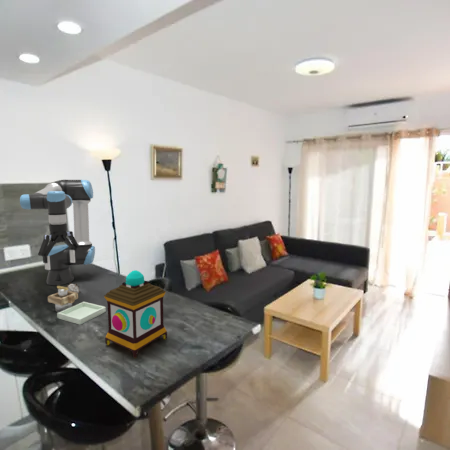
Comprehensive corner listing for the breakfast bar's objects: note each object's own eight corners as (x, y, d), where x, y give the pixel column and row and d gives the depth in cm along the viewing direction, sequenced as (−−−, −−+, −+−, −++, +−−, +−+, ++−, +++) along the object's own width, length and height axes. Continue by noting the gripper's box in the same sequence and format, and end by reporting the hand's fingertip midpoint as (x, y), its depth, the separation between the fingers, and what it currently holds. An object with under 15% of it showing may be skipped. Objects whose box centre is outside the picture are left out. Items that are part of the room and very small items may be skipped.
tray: (84, 306, 152) (83, 301, 152) (106, 311, 147) (105, 306, 146) (57, 318, 139) (57, 313, 139) (80, 324, 133) (80, 319, 133)
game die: (76, 303, 165) (87, 289, 165) (63, 303, 158) (74, 288, 157) (69, 292, 169) (79, 278, 169) (56, 291, 162) (66, 277, 161)
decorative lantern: (134, 362, 106) (131, 282, 102) (99, 346, 116) (96, 272, 112) (172, 338, 123) (171, 268, 118) (139, 325, 133) (137, 260, 129)
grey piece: (65, 304, 154) (64, 283, 152) (75, 307, 151) (74, 285, 149) (51, 310, 147) (50, 288, 146) (62, 313, 144) (60, 290, 143)
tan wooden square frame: (65, 295, 155) (64, 289, 154) (81, 299, 150) (80, 293, 150) (48, 302, 146) (47, 296, 146) (64, 306, 142) (63, 300, 141)
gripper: (74, 219, 156) (77, 259, 159) (26, 225, 133) (30, 271, 136) (85, 220, 153) (87, 260, 156) (37, 227, 130) (41, 273, 133)
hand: (60, 265), depth 146 cm, fingers open, 13 cm apart
